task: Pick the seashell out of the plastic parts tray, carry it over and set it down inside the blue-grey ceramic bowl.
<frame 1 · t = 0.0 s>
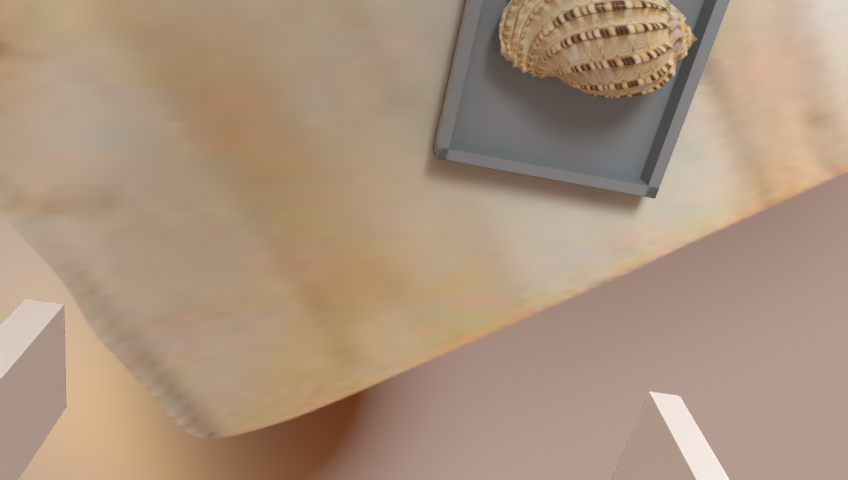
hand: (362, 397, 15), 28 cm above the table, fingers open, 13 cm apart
seashell: (582, 29, 39), resting on parts tray
parts tray: (582, 28, 39), on the table
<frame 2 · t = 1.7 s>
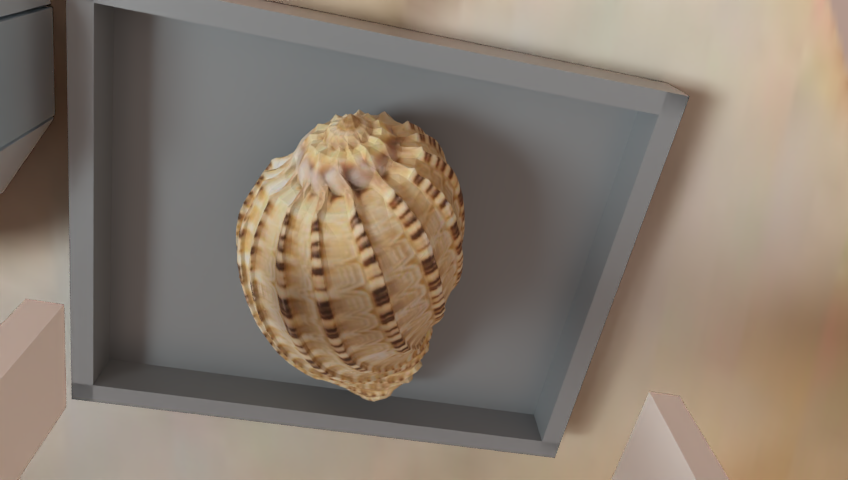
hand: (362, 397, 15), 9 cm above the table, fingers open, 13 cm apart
seashell: (359, 241, 23), resting on parts tray
parts tray: (358, 235, 23), on the table
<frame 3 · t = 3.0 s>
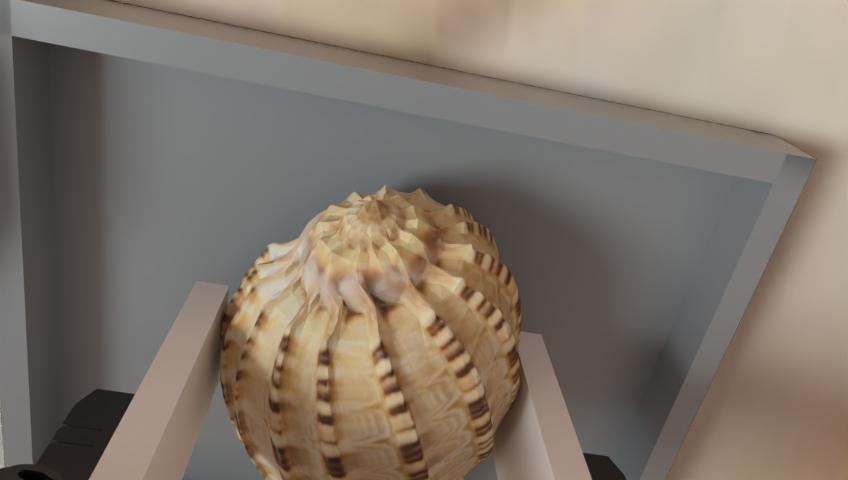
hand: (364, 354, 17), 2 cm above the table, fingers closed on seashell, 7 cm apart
seashell: (378, 336, 18), resting on parts tray, touching gripper
parts tray: (370, 322, 18), on the table
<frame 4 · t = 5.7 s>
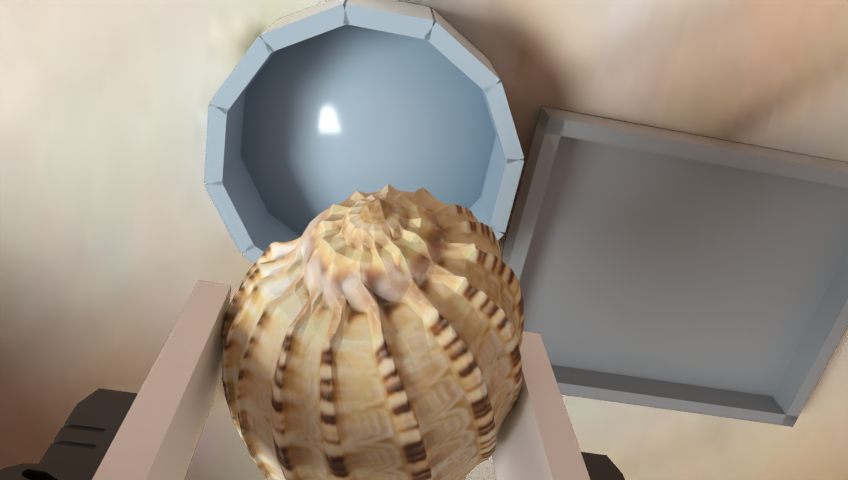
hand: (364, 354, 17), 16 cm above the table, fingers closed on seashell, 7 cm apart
seashell: (380, 335, 18), point 14 cm above the table, touching gripper
parts tray: (672, 272, 34), on the table
bowl: (368, 141, 31), on the table
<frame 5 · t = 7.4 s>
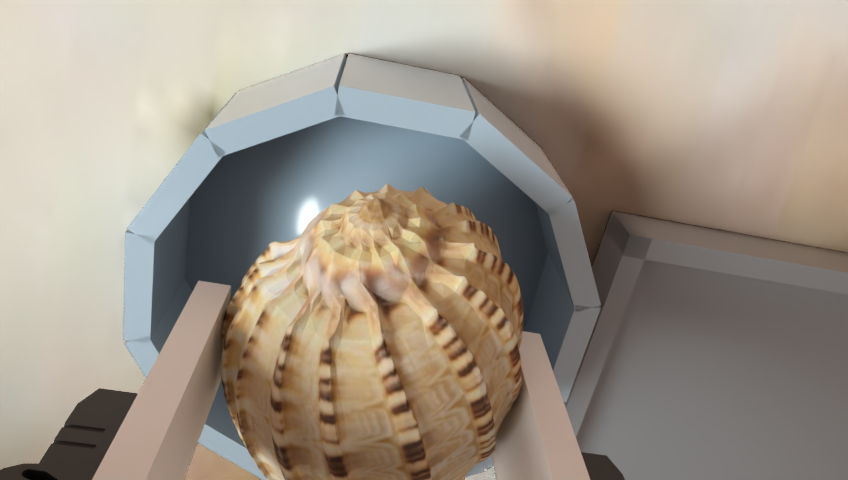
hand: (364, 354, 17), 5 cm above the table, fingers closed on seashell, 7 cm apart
seashell: (379, 335, 18), point 4 cm above the table, touching gripper
parts tray: (771, 418, 25), on the table
bowl: (367, 256, 22), on the table
when the fingers open (5 cm above the table, at t = 8.3 s): seashell drops 2 cm, resting on bowl.
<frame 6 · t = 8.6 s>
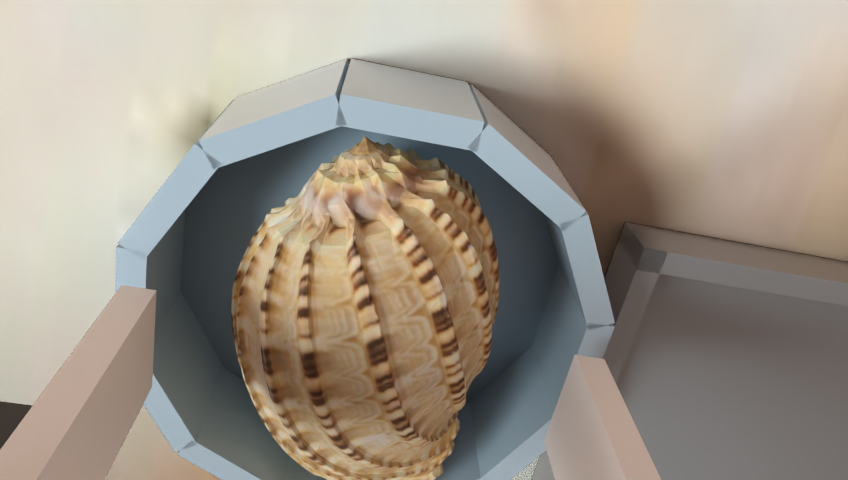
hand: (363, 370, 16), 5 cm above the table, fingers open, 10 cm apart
seashell: (383, 313, 20), point 2 cm above the table, touching bowl
parts tray: (788, 436, 25), on the table
bowl: (370, 268, 21), on the table
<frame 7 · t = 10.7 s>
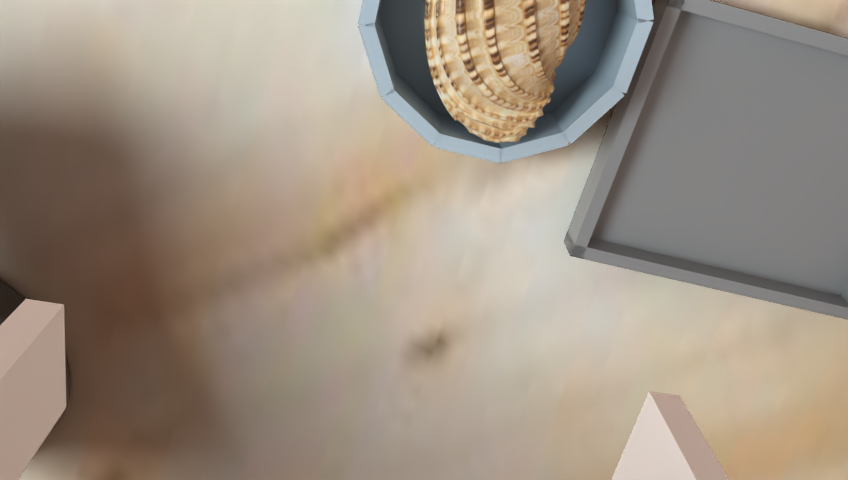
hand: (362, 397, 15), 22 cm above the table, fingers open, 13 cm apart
seashell: (507, 30, 32), point 2 cm above the table, touching bowl
parts tray: (760, 163, 36), on the table
bowl: (496, 10, 33), on the table
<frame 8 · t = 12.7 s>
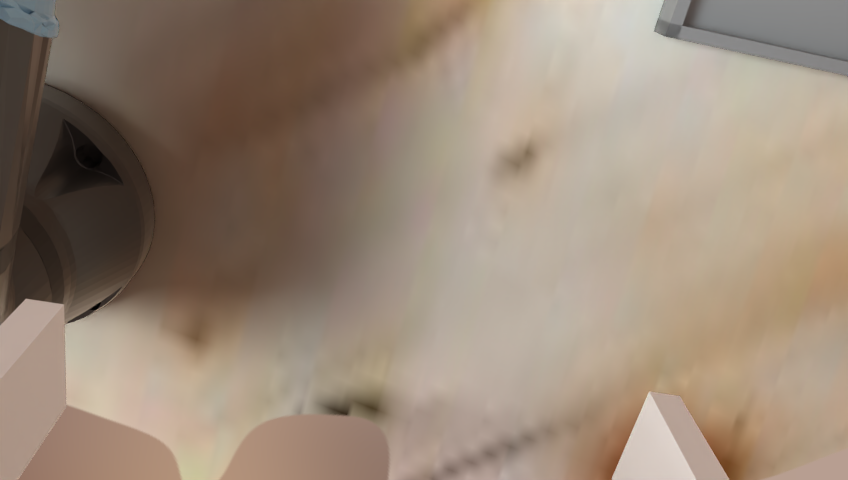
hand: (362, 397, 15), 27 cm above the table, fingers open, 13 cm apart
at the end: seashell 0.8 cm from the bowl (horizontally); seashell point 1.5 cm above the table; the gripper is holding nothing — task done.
